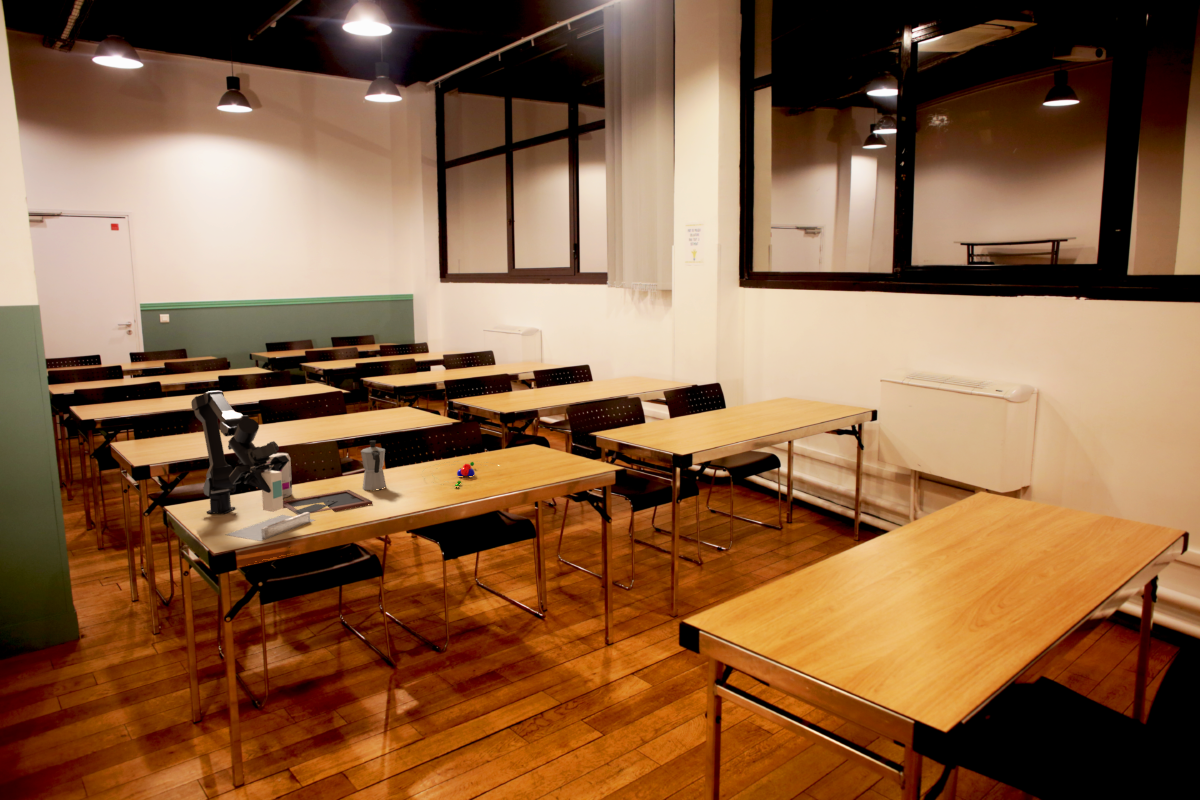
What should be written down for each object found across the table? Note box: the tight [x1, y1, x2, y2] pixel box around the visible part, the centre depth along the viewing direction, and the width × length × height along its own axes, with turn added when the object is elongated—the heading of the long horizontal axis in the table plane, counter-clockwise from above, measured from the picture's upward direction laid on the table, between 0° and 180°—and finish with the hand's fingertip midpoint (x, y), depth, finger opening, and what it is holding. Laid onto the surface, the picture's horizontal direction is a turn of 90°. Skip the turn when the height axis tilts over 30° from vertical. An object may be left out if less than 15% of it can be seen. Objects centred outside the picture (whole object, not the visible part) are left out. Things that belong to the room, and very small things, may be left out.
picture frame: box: [283, 489, 373, 516], centre depth 261 cm, size 20×2×25 cm
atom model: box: [421, 460, 501, 487], centre depth 299 cm, size 35×34×6 cm
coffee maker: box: [360, 440, 387, 491], centre depth 281 cm, size 15×9×18 cm, turn 27°
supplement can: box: [267, 452, 293, 499], centre depth 270 cm, size 8×8×15 cm
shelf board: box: [225, 514, 316, 542], centre depth 233 cm, size 14×22×1 cm, turn 157°
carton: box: [261, 470, 284, 512], centre depth 231 cm, size 4×4×12 cm
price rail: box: [261, 512, 311, 540], centre depth 230 cm, size 1×18×3 cm, turn 157°
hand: (275, 490), depth 230 cm, fingers closed on carton, 4 cm apart
